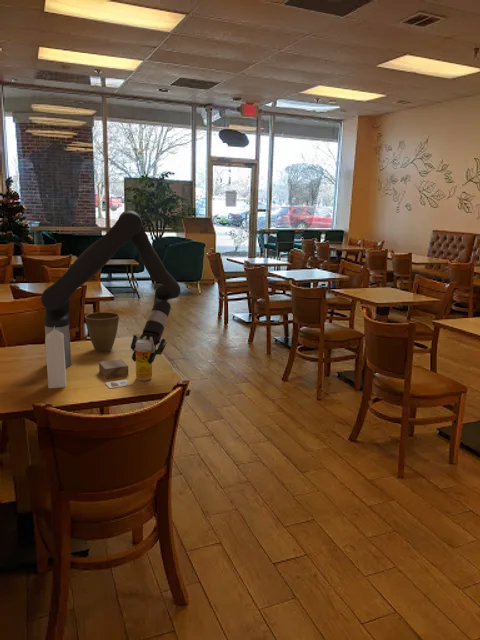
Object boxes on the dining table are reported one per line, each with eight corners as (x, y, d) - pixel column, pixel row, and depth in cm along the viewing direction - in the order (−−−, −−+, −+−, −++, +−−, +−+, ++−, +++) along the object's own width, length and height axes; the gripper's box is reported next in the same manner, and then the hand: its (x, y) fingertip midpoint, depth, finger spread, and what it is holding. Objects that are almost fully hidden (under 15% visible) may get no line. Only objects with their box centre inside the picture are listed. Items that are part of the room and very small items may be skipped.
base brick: (105, 378, 194) (105, 369, 193) (99, 371, 202) (99, 362, 201) (128, 375, 199) (128, 365, 198) (121, 368, 206) (121, 359, 205)
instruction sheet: (109, 388, 185) (109, 387, 185) (105, 383, 190) (105, 382, 190) (130, 385, 189) (130, 384, 189) (125, 380, 194) (125, 379, 194)
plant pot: (126, 349, 231) (125, 315, 227) (98, 356, 220) (97, 321, 216) (107, 342, 241) (106, 310, 237) (79, 349, 230) (78, 314, 226)
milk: (48, 388, 183) (44, 330, 178) (49, 382, 189) (45, 325, 183) (66, 387, 185) (62, 329, 180) (66, 381, 191) (63, 325, 185)
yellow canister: (138, 381, 192) (138, 344, 189) (134, 376, 198) (133, 339, 194) (154, 379, 195) (153, 342, 192) (149, 374, 200) (148, 338, 197)
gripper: (136, 317, 200) (121, 354, 192) (169, 321, 196) (155, 359, 188) (142, 327, 206) (128, 363, 198) (175, 331, 202) (161, 368, 194)
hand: (141, 361), depth 193 cm, fingers closed on yellow canister, 6 cm apart
